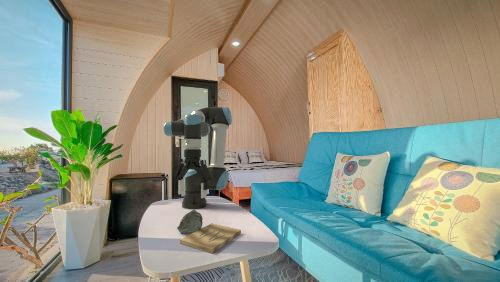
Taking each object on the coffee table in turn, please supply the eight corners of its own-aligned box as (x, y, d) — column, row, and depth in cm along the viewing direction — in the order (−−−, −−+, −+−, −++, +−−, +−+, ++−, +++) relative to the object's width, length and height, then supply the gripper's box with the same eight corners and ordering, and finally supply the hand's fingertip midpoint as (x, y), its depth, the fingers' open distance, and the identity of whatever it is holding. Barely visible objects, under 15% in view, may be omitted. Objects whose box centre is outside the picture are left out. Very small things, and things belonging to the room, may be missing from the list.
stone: (188, 211, 94) (198, 204, 104) (172, 225, 95) (183, 216, 105) (202, 229, 93) (210, 220, 102) (185, 243, 94) (195, 233, 104)
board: (211, 226, 103) (211, 223, 103) (240, 233, 96) (240, 229, 96) (179, 243, 86) (179, 239, 86) (212, 253, 78) (212, 249, 78)
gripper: (166, 148, 102) (166, 194, 101) (209, 149, 90) (208, 201, 89) (179, 148, 108) (178, 191, 108) (220, 149, 96) (219, 197, 96)
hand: (192, 195), depth 99 cm, fingers open, 13 cm apart
